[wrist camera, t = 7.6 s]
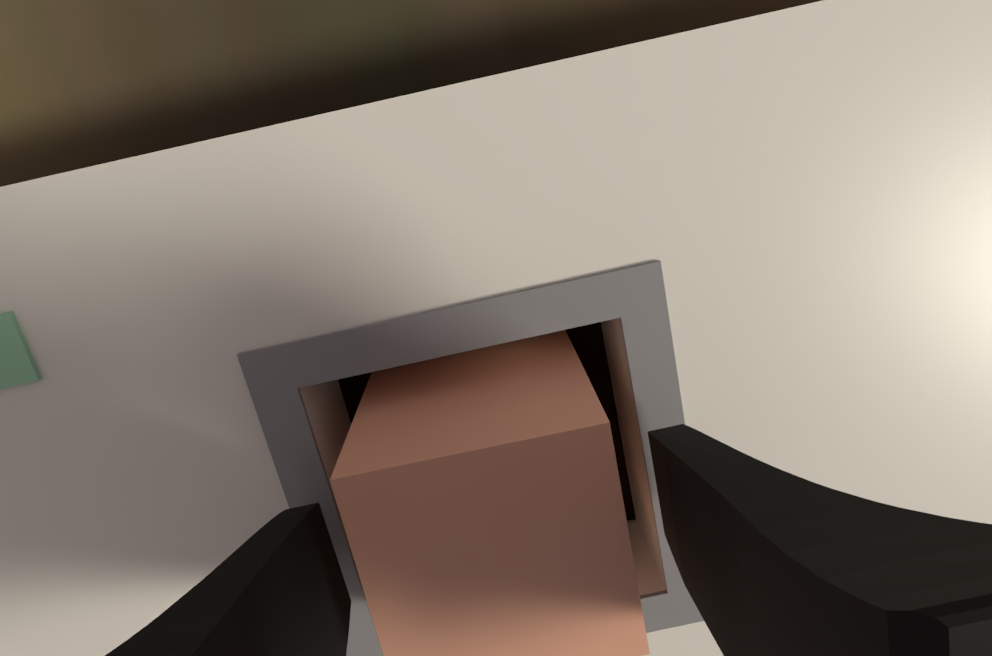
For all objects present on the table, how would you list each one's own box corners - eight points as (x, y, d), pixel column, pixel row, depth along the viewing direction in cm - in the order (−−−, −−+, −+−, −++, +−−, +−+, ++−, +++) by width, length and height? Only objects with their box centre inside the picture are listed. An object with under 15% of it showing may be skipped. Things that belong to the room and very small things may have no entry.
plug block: (593, 491, 16) (649, 654, 11) (419, 527, 16) (398, 704, 11) (562, 323, 14) (610, 422, 10) (375, 362, 15) (329, 480, 10)
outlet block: (953, 606, 17) (1039, 689, 14) (155, 772, 17) (102, 882, 15) (935, -18, 13) (1049, -52, 10) (-102, 218, 13) (-235, 239, 11)
